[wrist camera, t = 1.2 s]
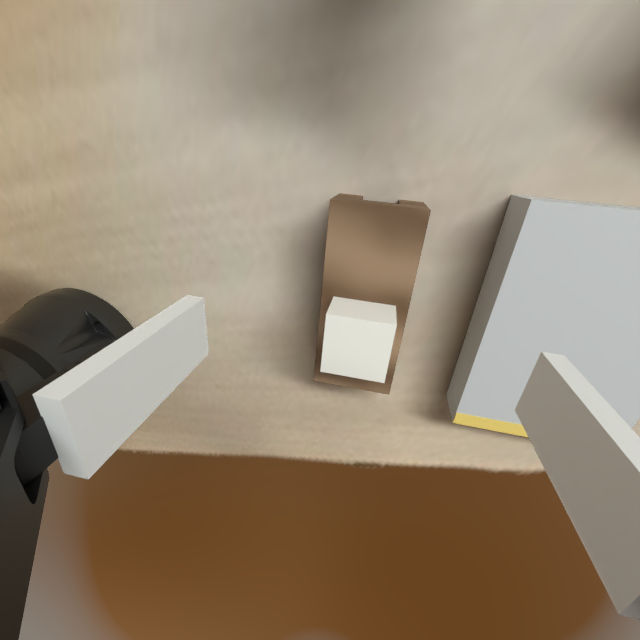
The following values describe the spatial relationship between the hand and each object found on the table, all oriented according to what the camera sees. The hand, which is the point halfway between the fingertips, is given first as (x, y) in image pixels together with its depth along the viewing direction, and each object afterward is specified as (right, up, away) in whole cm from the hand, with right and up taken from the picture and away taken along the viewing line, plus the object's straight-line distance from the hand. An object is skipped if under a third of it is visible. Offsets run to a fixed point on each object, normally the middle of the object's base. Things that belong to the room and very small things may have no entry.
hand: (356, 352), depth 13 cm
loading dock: (+20, +1, +16) cm, 25 cm away
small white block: (+2, +1, +14) cm, 14 cm away
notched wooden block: (+3, +5, +18) cm, 19 cm away
